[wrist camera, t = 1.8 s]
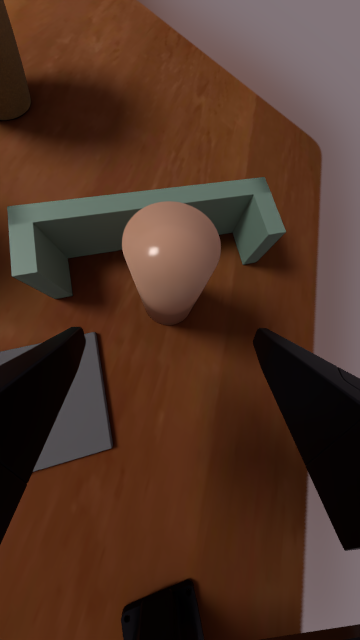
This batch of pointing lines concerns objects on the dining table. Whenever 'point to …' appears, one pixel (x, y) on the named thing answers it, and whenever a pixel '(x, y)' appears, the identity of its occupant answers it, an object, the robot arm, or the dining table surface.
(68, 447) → the mat
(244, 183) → the green bracket handle
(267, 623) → the dining table surface
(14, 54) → the plant pot
